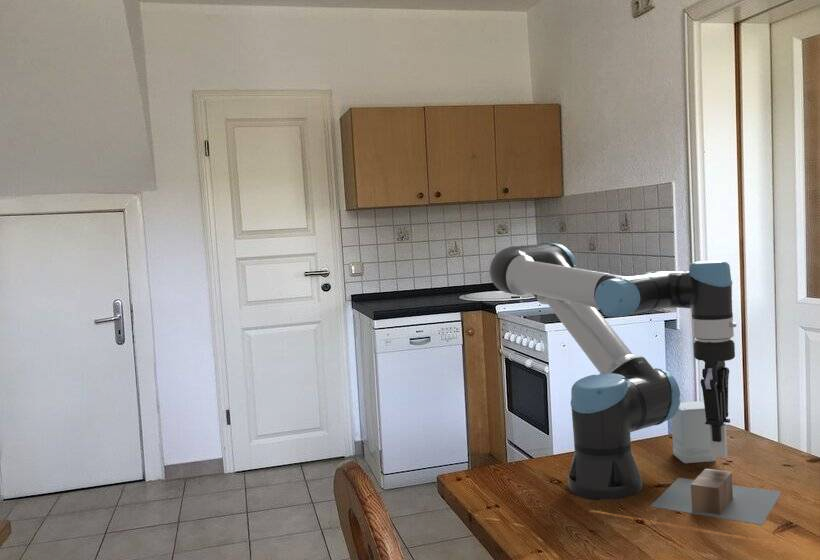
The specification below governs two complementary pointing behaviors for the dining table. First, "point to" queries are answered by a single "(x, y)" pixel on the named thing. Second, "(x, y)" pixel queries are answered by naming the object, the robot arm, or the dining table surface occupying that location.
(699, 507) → the walnut block
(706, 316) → the robot arm
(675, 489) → the rubber mat
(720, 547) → the dining table surface
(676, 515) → the dining table surface
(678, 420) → the supplement box
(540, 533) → the dining table surface
